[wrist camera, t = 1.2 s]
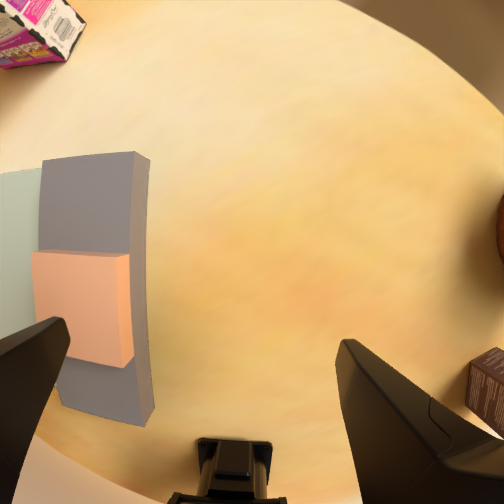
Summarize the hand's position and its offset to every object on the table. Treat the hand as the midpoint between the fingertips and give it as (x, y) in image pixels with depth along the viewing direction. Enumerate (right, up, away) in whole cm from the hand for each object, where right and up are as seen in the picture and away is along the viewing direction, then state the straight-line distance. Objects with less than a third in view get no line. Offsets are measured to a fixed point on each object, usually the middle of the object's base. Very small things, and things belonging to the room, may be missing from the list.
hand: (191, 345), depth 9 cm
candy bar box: (-20, +24, +11) cm, 33 cm away
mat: (-21, 0, +13) cm, 24 cm away
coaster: (-10, -1, +10) cm, 14 cm away
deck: (-10, 0, +13) cm, 16 cm away
